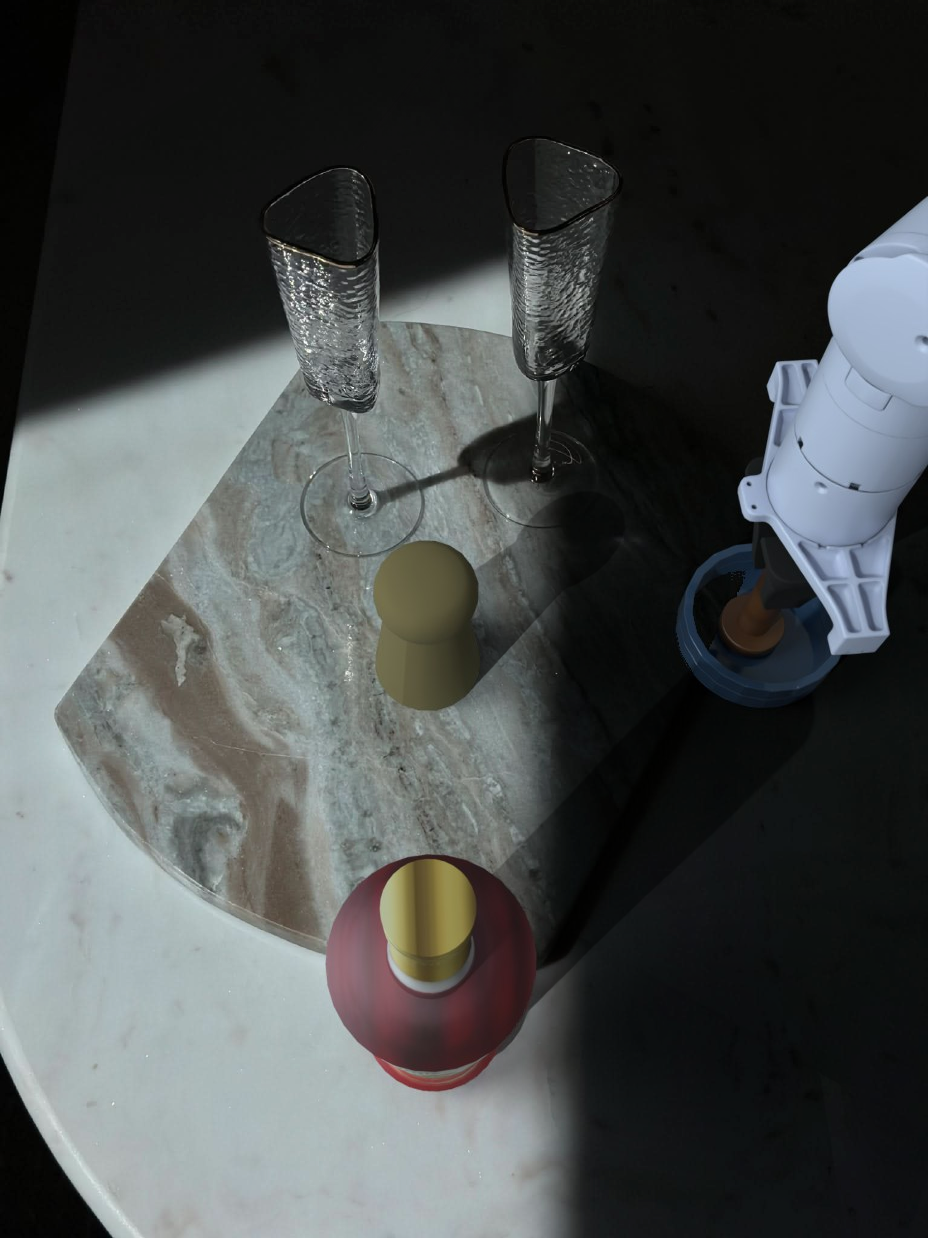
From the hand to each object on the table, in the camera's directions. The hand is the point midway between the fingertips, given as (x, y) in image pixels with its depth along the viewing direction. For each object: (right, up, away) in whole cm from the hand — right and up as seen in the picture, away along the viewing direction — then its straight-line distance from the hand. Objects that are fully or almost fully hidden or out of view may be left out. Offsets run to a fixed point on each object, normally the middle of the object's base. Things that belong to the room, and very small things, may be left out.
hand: (776, 582), depth 60 cm
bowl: (0, -3, +6) cm, 7 cm away
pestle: (0, -3, +5) cm, 6 cm away
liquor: (-18, -22, -3) cm, 28 cm away
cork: (-18, -5, +5) cm, 20 cm away
